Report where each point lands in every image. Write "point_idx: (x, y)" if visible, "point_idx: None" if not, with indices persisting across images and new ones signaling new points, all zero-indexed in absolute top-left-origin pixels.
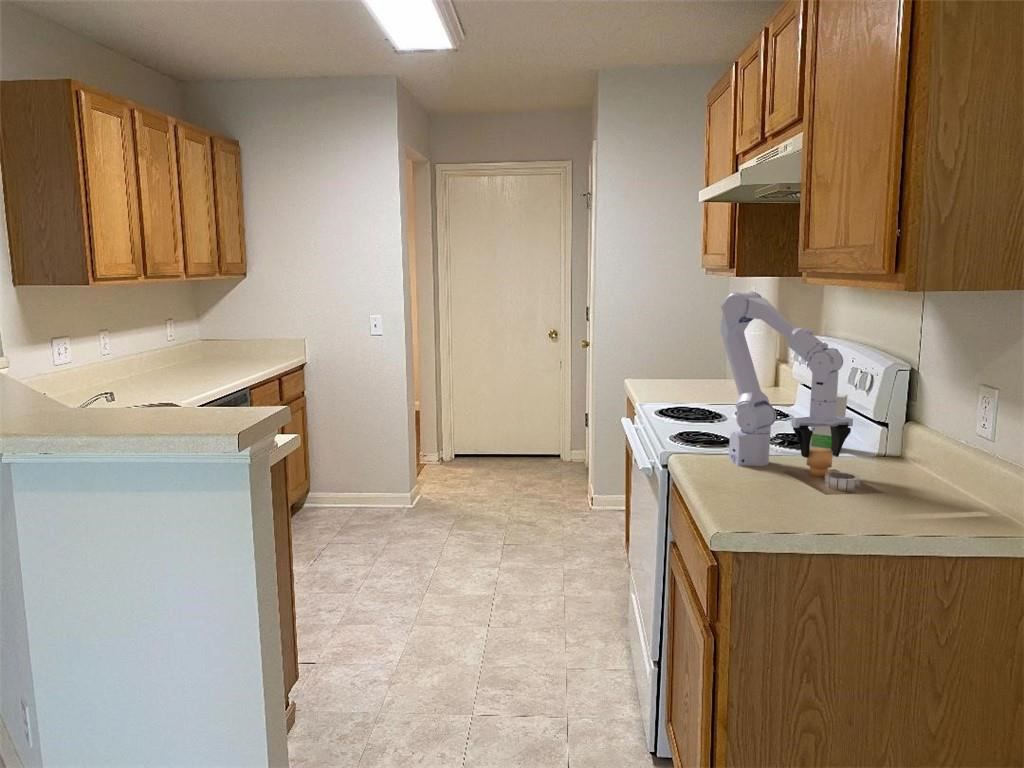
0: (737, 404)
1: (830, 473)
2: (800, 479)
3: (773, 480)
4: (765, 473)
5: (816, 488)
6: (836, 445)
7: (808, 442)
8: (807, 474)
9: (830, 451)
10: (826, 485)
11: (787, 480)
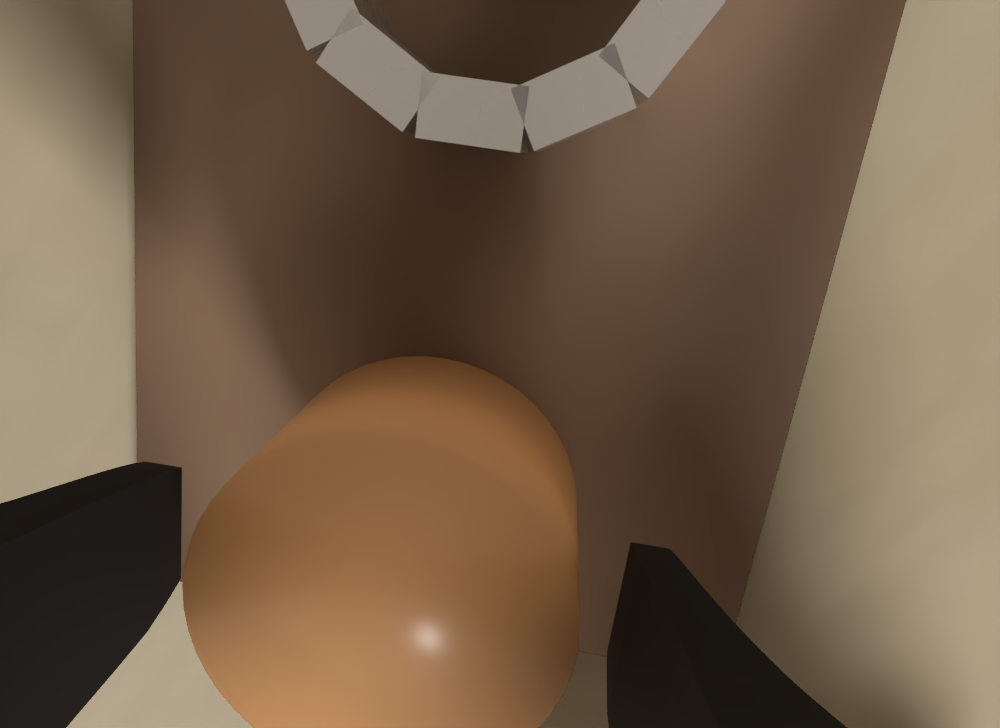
0: None
1: (584, 62)
2: (778, 347)
3: (979, 492)
4: (853, 714)
5: None
6: (59, 583)
7: (746, 690)
8: None
9: (246, 515)
10: None
11: (830, 453)
